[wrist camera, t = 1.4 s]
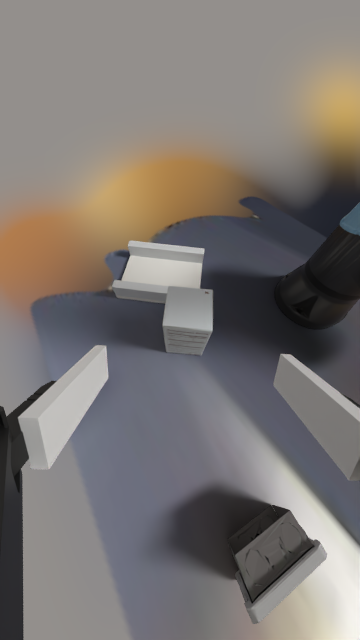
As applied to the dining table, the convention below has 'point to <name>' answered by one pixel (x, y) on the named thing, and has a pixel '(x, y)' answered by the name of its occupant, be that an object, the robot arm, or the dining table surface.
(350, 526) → the dining table surface
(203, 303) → the supplement box
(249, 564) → the electrical switch
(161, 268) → the tray
